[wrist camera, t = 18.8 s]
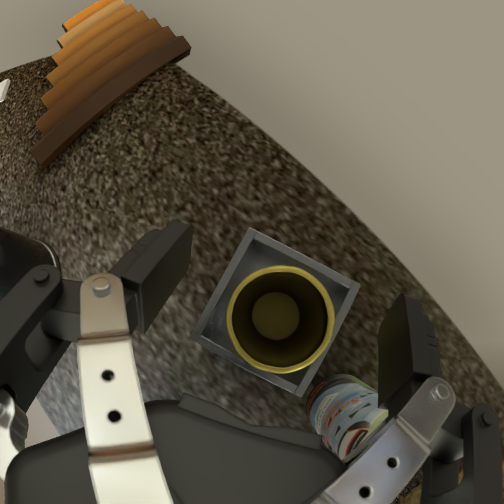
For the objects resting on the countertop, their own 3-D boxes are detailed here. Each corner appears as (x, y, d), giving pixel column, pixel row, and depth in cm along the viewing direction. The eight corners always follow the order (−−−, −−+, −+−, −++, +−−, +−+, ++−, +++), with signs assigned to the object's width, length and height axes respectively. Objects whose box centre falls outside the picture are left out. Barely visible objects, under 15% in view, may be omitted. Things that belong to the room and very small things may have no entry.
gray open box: (203, 333, 30) (188, 337, 24) (253, 242, 31) (249, 226, 25) (296, 382, 28) (301, 397, 23) (345, 289, 30) (361, 284, 24)
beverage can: (316, 364, 28) (344, 396, 17) (385, 381, 28) (443, 414, 16) (294, 423, 28) (307, 482, 16) (363, 438, 27) (406, 494, 15)
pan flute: (47, 171, 34) (192, 57, 38) (35, 161, 31) (190, 40, 35) (0, 88, 36) (111, 3, 40) (-9, 78, 33) (107, -10, 37)
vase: (275, 362, 28) (279, 407, 14) (228, 314, 29) (189, 317, 15) (322, 315, 29) (369, 317, 15) (276, 268, 30) (280, 229, 16)
